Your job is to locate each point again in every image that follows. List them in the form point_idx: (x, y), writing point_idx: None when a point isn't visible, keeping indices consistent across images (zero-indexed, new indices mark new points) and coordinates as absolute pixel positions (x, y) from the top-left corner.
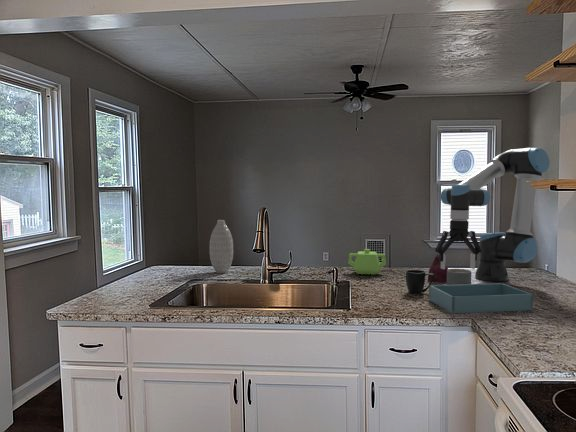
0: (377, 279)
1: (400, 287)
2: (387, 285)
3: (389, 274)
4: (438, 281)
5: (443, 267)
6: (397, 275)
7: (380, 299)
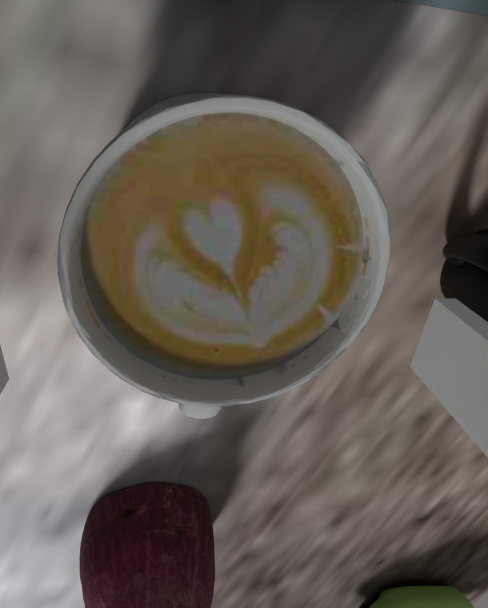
0: (431, 530)
1: None
2: None
3: (321, 602)
4: (179, 490)
5: (470, 311)
6: (299, 592)
7: None
